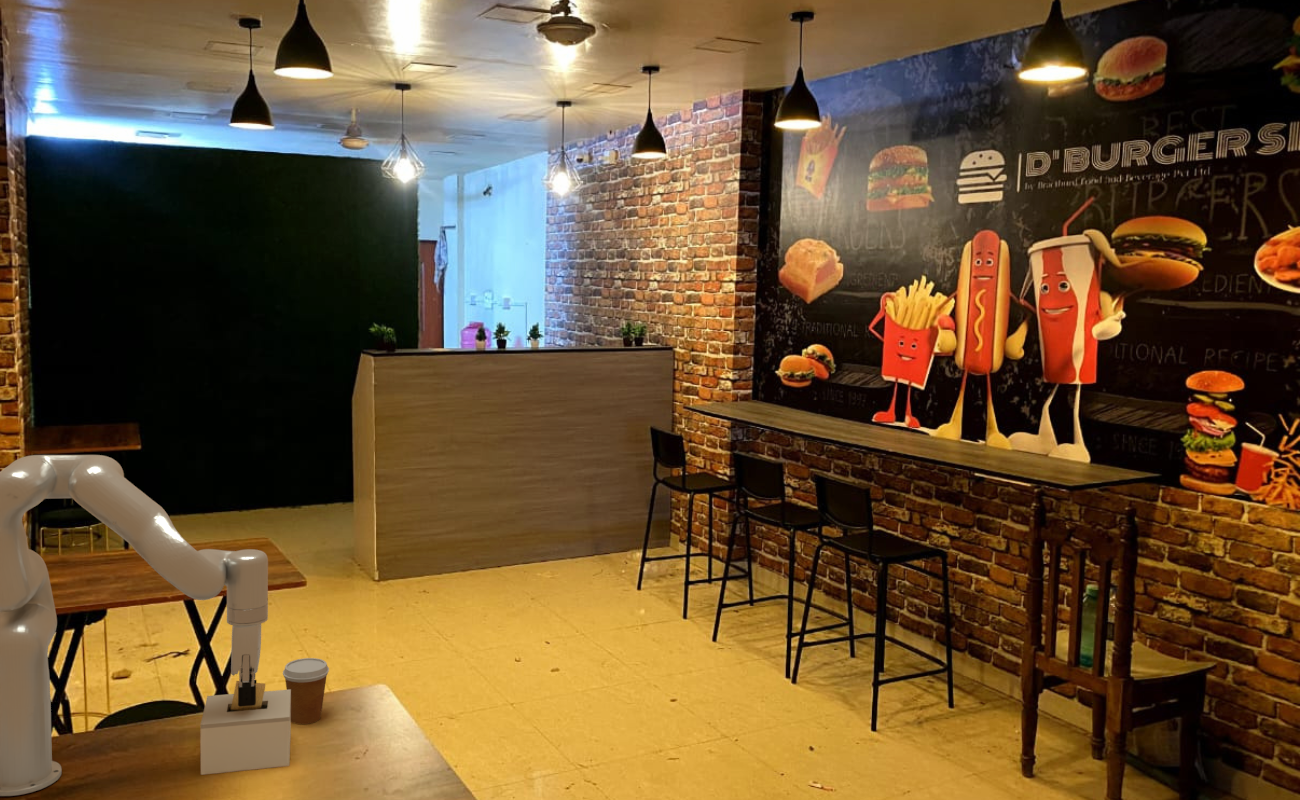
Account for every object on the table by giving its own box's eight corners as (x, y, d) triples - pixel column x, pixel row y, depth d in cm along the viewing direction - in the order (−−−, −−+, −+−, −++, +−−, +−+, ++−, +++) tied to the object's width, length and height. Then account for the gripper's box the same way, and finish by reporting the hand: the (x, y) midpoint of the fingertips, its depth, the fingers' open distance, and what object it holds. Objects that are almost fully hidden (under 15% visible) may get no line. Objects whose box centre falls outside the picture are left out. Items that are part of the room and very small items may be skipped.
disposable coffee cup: (314, 730, 217) (314, 675, 215) (273, 724, 219) (273, 670, 217) (336, 712, 226) (337, 660, 225) (297, 707, 228) (297, 655, 226)
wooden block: (259, 712, 203) (230, 709, 201) (260, 707, 206) (231, 704, 204) (265, 688, 203) (235, 685, 201) (265, 683, 205) (236, 680, 203)
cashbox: (200, 774, 196) (200, 724, 194) (207, 742, 209) (207, 695, 208) (289, 765, 201) (289, 717, 199) (290, 735, 214) (290, 689, 213)
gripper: (229, 601, 208) (230, 688, 210) (223, 627, 193) (223, 720, 195) (269, 599, 210) (268, 685, 212) (266, 625, 195) (265, 717, 197)
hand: (247, 701), depth 203 cm, fingers closed on wooden block, 2 cm apart
